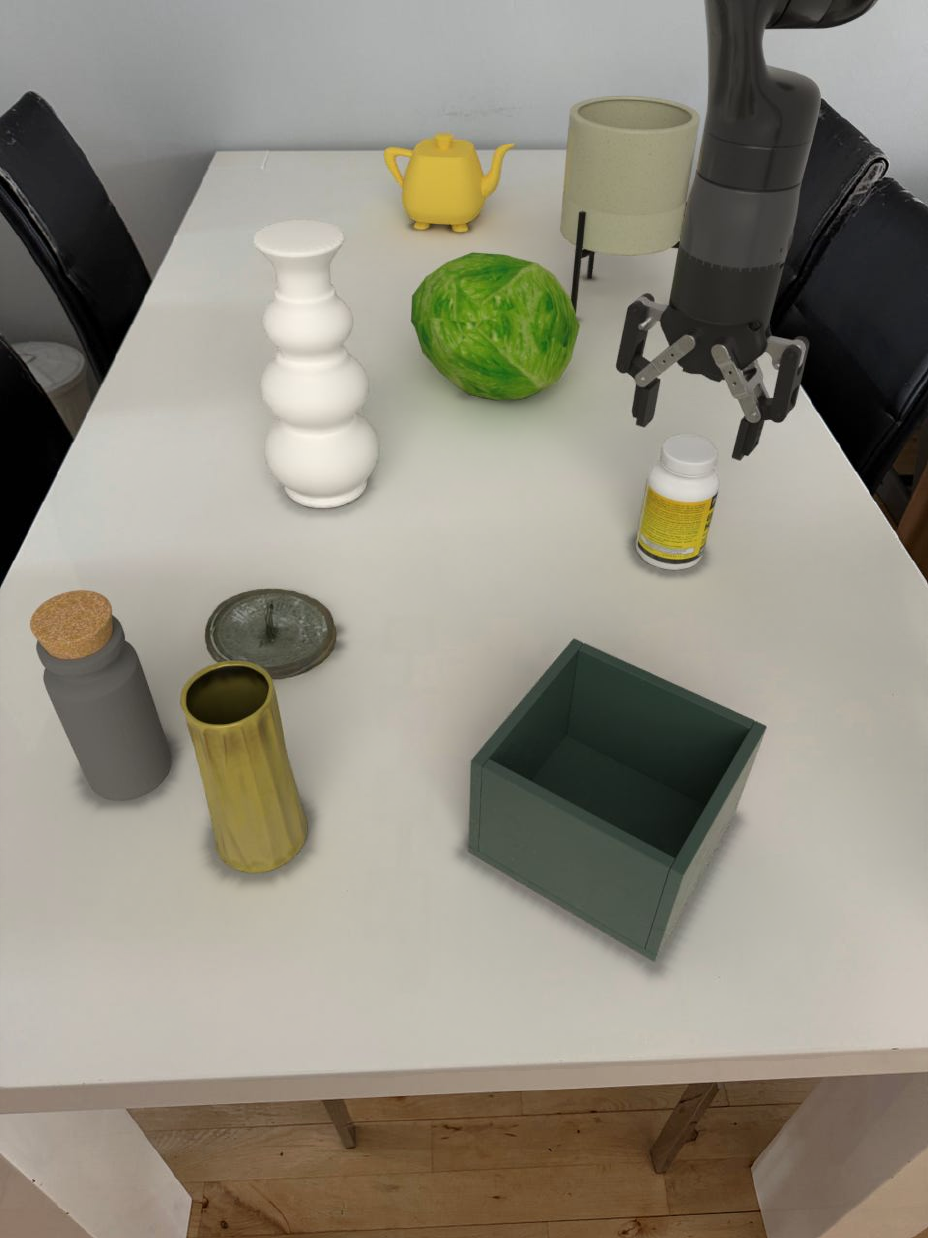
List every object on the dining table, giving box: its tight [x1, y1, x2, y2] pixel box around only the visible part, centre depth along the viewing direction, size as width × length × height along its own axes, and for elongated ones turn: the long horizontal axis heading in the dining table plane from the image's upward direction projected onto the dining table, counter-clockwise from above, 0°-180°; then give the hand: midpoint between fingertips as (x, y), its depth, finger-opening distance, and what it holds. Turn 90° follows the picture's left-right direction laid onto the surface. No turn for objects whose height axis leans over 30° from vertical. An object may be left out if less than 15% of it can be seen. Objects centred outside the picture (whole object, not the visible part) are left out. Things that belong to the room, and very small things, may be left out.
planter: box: [559, 95, 701, 315], centre depth 115 cm, size 15×16×23 cm
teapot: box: [383, 132, 516, 233], centre depth 139 cm, size 13×20×12 cm
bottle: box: [29, 589, 172, 801], centre depth 60 cm, size 6×6×15 cm
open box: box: [467, 638, 768, 963], centre depth 58 cm, size 14×13×10 cm
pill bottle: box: [635, 433, 721, 571], centre depth 80 cm, size 6×6×11 cm
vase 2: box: [252, 219, 380, 509], centre depth 82 cm, size 11×11×25 cm
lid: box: [204, 588, 338, 681], centre depth 73 cm, size 11×10×5 cm
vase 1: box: [179, 661, 308, 874], centre depth 56 cm, size 6×6×14 cm
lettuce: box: [410, 251, 581, 401], centre depth 101 cm, size 17×20×17 cm
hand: (691, 438), depth 76 cm, fingers open, 8 cm apart
